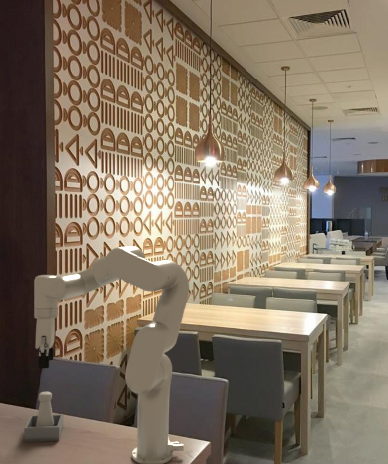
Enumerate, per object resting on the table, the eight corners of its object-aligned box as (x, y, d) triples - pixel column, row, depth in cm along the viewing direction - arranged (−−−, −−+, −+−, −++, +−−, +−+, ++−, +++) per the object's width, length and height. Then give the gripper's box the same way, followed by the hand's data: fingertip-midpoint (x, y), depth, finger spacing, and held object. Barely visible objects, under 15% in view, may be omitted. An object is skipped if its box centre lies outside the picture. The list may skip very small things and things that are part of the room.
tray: (63, 427, 176) (63, 414, 176) (59, 440, 165) (59, 427, 165) (30, 428, 175) (30, 415, 175) (24, 442, 164) (24, 428, 164)
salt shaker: (56, 428, 173) (56, 389, 173) (51, 435, 167) (52, 395, 167) (38, 427, 173) (39, 389, 173) (33, 434, 167) (34, 395, 167)
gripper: (39, 308, 177) (39, 357, 178) (29, 317, 160) (29, 371, 160) (61, 308, 178) (61, 356, 179) (54, 317, 161) (54, 371, 161)
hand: (46, 363), depth 169 cm, fingers open, 9 cm apart
